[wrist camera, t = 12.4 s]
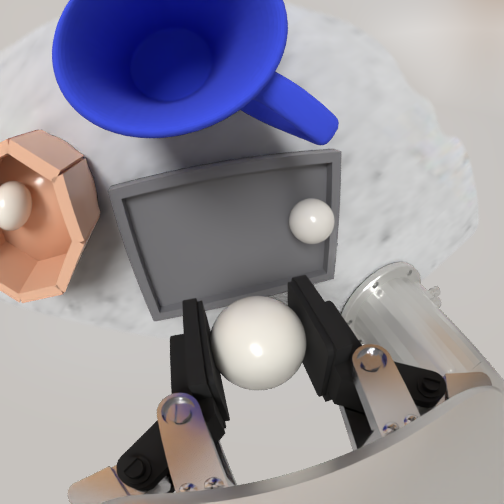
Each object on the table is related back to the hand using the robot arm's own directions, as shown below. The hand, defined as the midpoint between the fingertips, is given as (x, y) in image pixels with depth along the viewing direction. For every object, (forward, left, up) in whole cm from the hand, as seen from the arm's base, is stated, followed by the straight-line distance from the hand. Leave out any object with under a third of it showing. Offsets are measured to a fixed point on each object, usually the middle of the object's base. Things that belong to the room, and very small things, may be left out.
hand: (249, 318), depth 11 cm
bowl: (+13, -4, -11) cm, 18 cm away
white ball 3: (-7, +1, -11) cm, 13 cm away
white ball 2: (0, 0, 0) cm, 0 cm away
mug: (0, -10, -12) cm, 15 cm away
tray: (-2, +2, -11) cm, 12 cm away
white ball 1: (+14, -5, -11) cm, 19 cm away
